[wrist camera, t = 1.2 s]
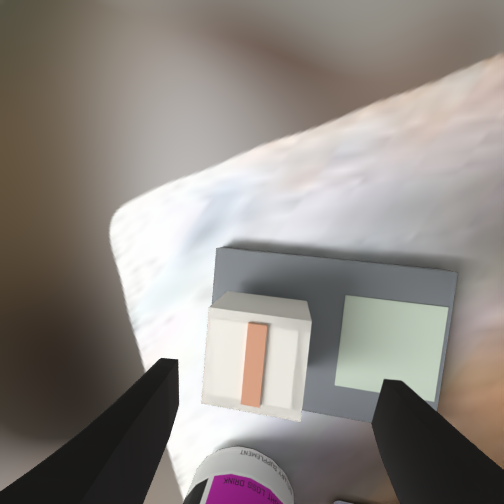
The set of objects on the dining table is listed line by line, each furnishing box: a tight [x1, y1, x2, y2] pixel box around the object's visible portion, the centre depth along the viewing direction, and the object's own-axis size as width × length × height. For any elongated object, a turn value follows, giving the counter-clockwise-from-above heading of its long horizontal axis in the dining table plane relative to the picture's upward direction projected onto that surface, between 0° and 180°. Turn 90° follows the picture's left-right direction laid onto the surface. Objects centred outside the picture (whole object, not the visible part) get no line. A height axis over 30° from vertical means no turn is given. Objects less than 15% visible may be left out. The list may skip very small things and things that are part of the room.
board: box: [212, 247, 458, 423], centre depth 19 cm, size 11×16×2 cm
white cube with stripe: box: [201, 291, 312, 422], centre depth 16 cm, size 5×5×4 cm
